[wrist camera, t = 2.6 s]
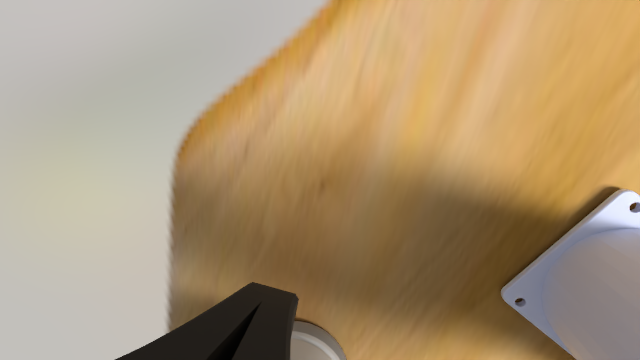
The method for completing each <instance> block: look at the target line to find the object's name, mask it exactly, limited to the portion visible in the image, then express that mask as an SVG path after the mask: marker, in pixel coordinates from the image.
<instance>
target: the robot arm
mask: <svg viewBox="0 0 640 360" xmlns="http://www.w3.org/2000/svg"><path fill="white" fill-rule="evenodd" d="M635 202H636V207H635V208H634V209H633V210H630V205H631V204H633V203H635ZM501 296H502V298H503V300H504V301H505V302H506V303H507V304H509V305H510V306H511V307H512V308H514V309H515V310H516V311H517V312H519V313H520V314H521V315H522V316H523V317H525V318H526V319H527V320H528V321H530V322H531V323H532V324H533V325H535V326H536V327H537V328H538V329H540V330H541V331H542V332H543V333H545V334H546V335H547V336H548V337H549V338H551V339H552V340H553V341H554V342H556V343H557V344H558V345H559V346H561V347H562V348H563V349H564V350H566V351H567V352H568V353H569V354H571V355H572V356H573V357H574V358H575V359H576V360H640V195H638V194H637V193H636V192H634V191H631V190H628V189H620V190H618V191H616V192H614V193H613V194H612V195H611V196H610V197H608V198H607V199H606V200H605V201H604V202H603V203H601V204H600V205H599V206H598V207H597V208H596V209H594V210H593V211H592V212H591V213H590V214H588V215H587V216H586V217H585V218H584V219H583V220H581V221H580V222H579V223H578V224H577V225H576V226H574V227H573V228H572V229H571V230H570V231H569V232H567V233H566V234H565V235H564V236H563V237H562V238H560V239H559V240H558V241H557V242H556V243H555V244H553V245H552V246H551V247H550V248H549V249H547V250H546V251H545V252H544V253H543V254H542V255H540V256H539V257H538V258H537V259H536V260H535V261H533V262H532V263H531V264H530V265H529V266H528V267H526V268H525V269H524V270H523V271H522V272H521V273H519V274H518V275H517V276H516V277H515V278H514V279H512V280H511V281H510V282H509V283H508V284H506V285H505V286H504V287H503V288H502V290H501ZM518 298H523V300H522V301H521V302H515V301H516V299H518ZM298 300H299V299H298V297H297V296H296V294H294V293H290V292H287V291H283V290H279V289H276V288H272V287H269V286H265V285H261V284H258V283H254V282H252V283H250V284H248V285H247V286H245V287H243V288H242V289H240V290H239V291H237V292H236V293H234V294H232V295H231V296H229V297H228V298H226V299H225V300H223V301H222V302H220V303H218V304H217V305H215V306H214V307H212V308H210V309H209V310H207V311H205V312H204V313H202V314H201V315H199V316H197V317H196V318H194V319H192V320H191V321H189V322H187V323H186V324H184V325H182V326H180V327H178V328H177V329H175V330H173V331H171V332H169V333H167V334H166V335H164V336H162V337H160V338H158V339H156V340H155V341H153V342H151V343H149V344H147V345H145V346H143V347H141V348H139V349H137V350H135V351H133V352H131V353H129V354H126V355H124V356H122V357H120V358H118V359H115V360H290V346H291V336H292V330H293V325H294V320H295V315H296V310H297V305H298Z"/></svg>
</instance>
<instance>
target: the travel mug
mask: <svg viewBox="0 0 640 360" xmlns="http://www.w3.org/2000/svg"><path fill="white" fill-rule="evenodd" d="M290 360H346V356H345V354H344V352H343V350H342V348H341V346H340V345H339V344H338V343H337V341H336V340H335V339H334V338H333V337H332V336H331V335H330V334H329V333H327V332H326V331H324V330H323V329H321V328H320V327H317V326H315V325H313V324H310V323H306V322H301V321H294V325H293V330H292V336H291V346H290Z"/></svg>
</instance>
